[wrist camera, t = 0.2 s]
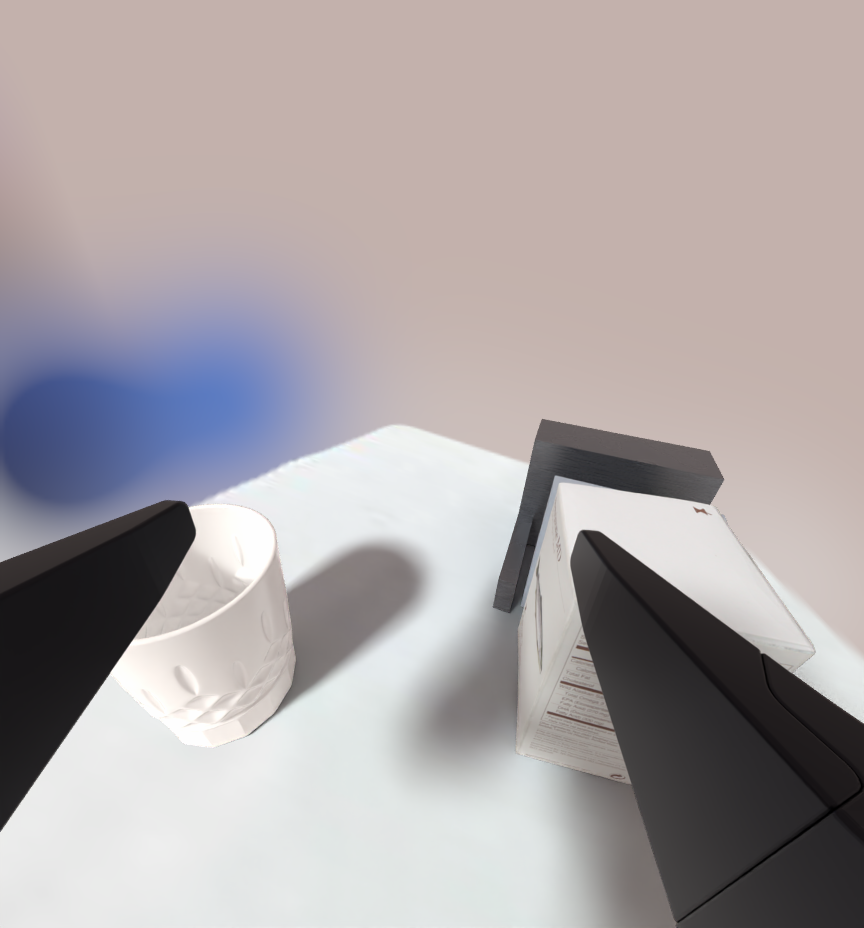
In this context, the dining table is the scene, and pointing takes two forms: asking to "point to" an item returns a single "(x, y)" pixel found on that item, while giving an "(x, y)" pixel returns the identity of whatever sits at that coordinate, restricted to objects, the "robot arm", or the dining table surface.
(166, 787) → the dining table surface
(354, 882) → the dining table surface
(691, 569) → the supplement box
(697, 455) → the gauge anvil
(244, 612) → the white cup
